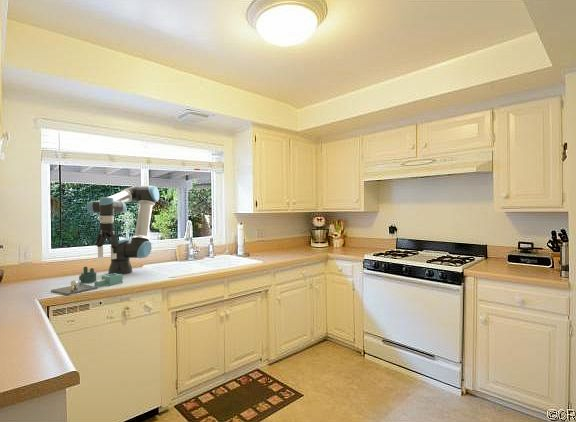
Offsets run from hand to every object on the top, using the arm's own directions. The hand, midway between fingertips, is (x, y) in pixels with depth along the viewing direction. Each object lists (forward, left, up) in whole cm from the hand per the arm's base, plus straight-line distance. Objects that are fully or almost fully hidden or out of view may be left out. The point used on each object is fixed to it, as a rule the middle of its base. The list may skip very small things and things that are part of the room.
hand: (107, 258), depth 194 cm
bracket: (+2, -17, -16) cm, 23 cm away
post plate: (+18, -2, -16) cm, 24 cm away
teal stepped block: (+1, +1, -15) cm, 16 cm away
